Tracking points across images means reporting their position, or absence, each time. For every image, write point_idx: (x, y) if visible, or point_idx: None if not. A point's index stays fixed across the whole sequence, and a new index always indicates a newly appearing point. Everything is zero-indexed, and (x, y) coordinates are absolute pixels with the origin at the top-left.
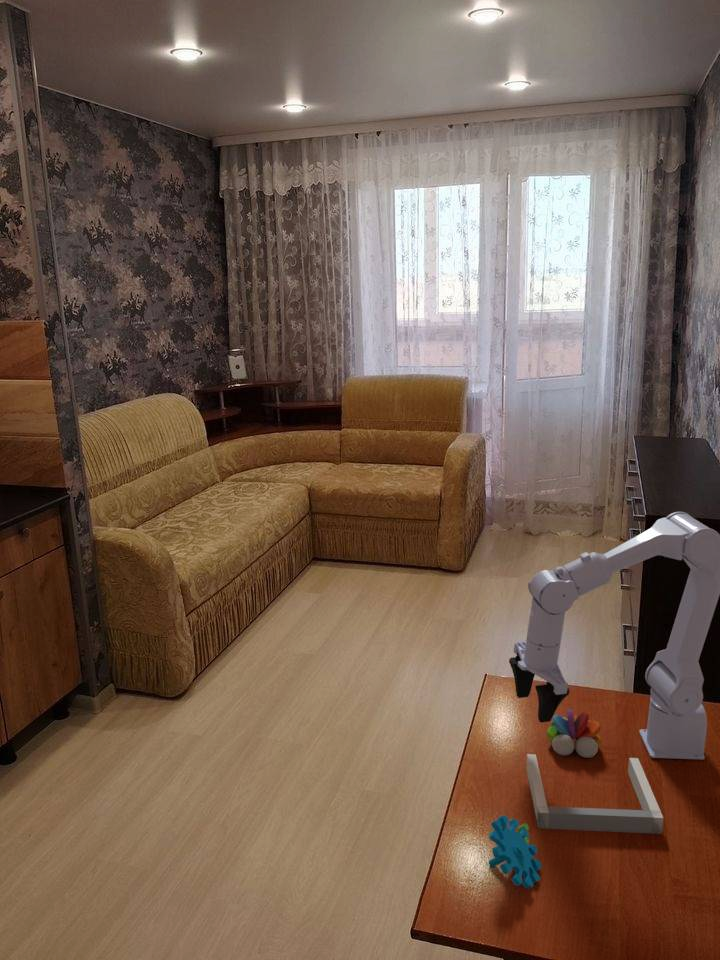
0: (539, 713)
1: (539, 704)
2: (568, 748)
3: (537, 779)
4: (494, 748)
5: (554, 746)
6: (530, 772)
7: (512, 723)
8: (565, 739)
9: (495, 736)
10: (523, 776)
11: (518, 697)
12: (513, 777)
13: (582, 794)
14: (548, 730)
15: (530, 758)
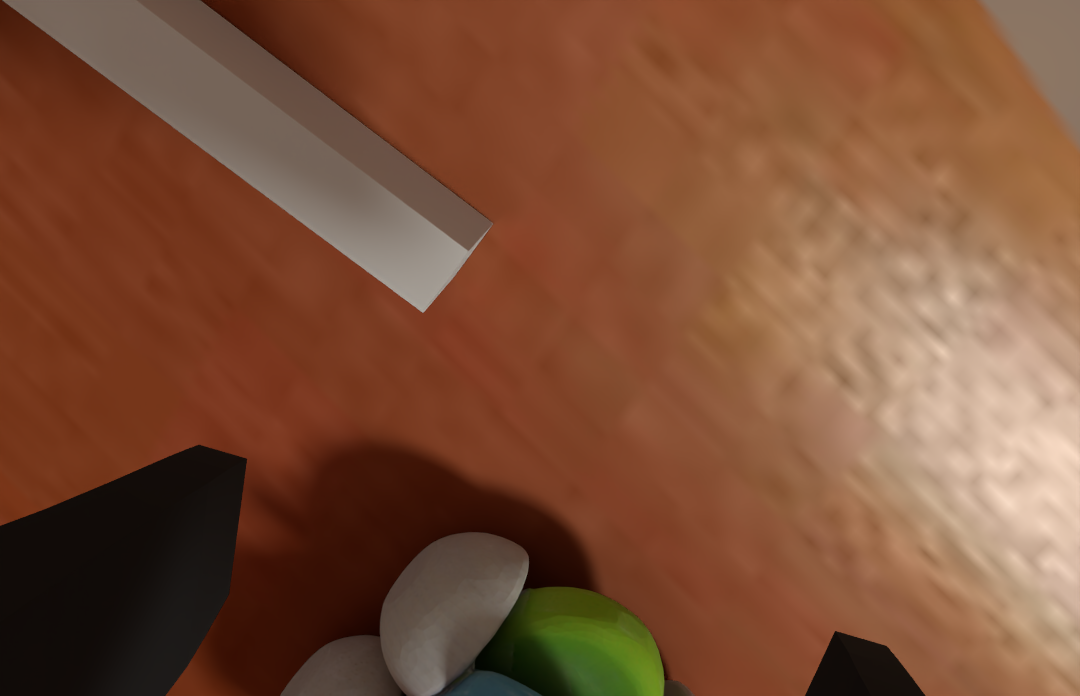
0: (129, 495)
1: (4, 582)
2: (384, 601)
3: (148, 66)
4: (853, 190)
5: (478, 545)
6: (271, 97)
7: (994, 553)
8: (409, 643)
9: (969, 315)
10: (435, 134)
11: (839, 637)
12: (469, 53)
13: (76, 349)
14: (622, 645)
15: (404, 230)
